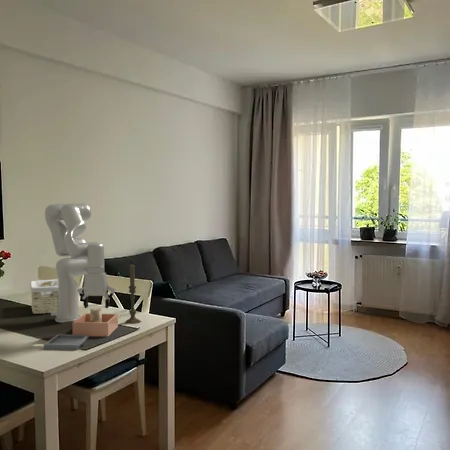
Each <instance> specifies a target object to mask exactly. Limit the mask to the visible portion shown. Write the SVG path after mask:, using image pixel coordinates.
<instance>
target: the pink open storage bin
mask: <svg viewBox="0 0 450 450" xmlns="http://www.w3.org/2000/svg"><path fill="white" fill-rule="evenodd" d="M117 328H119V314H118V313H102V322H90V313H87V312H86V313H83V314H82V315H80V317H79V318H78V319H76V320H75V321H72V335H89V337H109V336H110V335H111V334H112V333H113V332H114V331H115V330H116V329H117Z"/></svg>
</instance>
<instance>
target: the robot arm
mask: <svg viewBox="0 0 450 450" xmlns="http://www.w3.org/2000/svg"><path fill="white" fill-rule="evenodd" d="M91 216H92V211H91V208H90V206H89V205H88V204H87V203H52V204H49V205H48V206H46V208H45V211H44V218H45V222H46V225H47V227H48V229H49V231H50V233H51V237H52V238H51V239H52V242H53V246H54V251H55V253H56V255H57V256H58V257H61V258H60V259H59V260H57V262H56V264H55V271H56V276H57V279H58V311H57V312H55V311H51V313H50V316H51V317H55V322H57V323H60V324H64V323H65V322H74V321H75V320H76V319H78V318H79V317H80V316H81V315H79V296H80V298H81V299H82V300H83V308H84V309H87V308H88V307H89V298H88V297H103V296H104V298H105V300H104V307H105V309H108V308H109V307H110V305H111V301H110V299H111V298H112V296H114V294H115V292H116V288H113V287H111V286H110V285H109V284H108V283H109V282H108V276H107V272H105V245H104V244H103V243H98V242H95V241H86V239H84V238H82V237H79V236H80V235H83V234H84V232H85V231H86V229H87V224H86V221H88V220H90V218H91ZM62 221H63V222H64V223H63V222H62ZM62 257H64V258H62ZM77 276H78V277H79V276H84V284H83V286H82V287H80V288H79V284H78V282H77V280H76V279H75V278H74V277H77ZM109 291H110V294H109Z"/></svg>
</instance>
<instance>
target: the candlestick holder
mask: <svg viewBox="0 0 450 450" xmlns="http://www.w3.org/2000/svg"><path fill="white" fill-rule="evenodd" d="M135 282H136V280H135V265H134V264H129V286H128V289H129V290H128V292H129V293H130V307H131V308H130V310H129V311H128V312H129V315H130V317H129V318H128V319H127V320H125V321H124V323H125V324H127V325H136V324H137V325H138V324H140V323H142V320H140V319H139V318H137V317H136V314H137V310H136V309H135V298H136V297H135V293H136V292H137V290H136V289H137V286H136V285H135Z"/></svg>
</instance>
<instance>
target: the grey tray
mask: <svg viewBox="0 0 450 450" xmlns="http://www.w3.org/2000/svg"><path fill="white" fill-rule="evenodd" d="M89 338H90V336H89V335H73V334H63V333H61V334H60V333H59V334H56V335H54V336H53V337H52V338H50V339H49V340H48V341H46V342H45V343H44V344H43V349H44V350H63V351H64V350H67V351H70V350H71V351H79V349H81V348H82V347H83V343H85V342H86V340H88V339H89Z"/></svg>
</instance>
